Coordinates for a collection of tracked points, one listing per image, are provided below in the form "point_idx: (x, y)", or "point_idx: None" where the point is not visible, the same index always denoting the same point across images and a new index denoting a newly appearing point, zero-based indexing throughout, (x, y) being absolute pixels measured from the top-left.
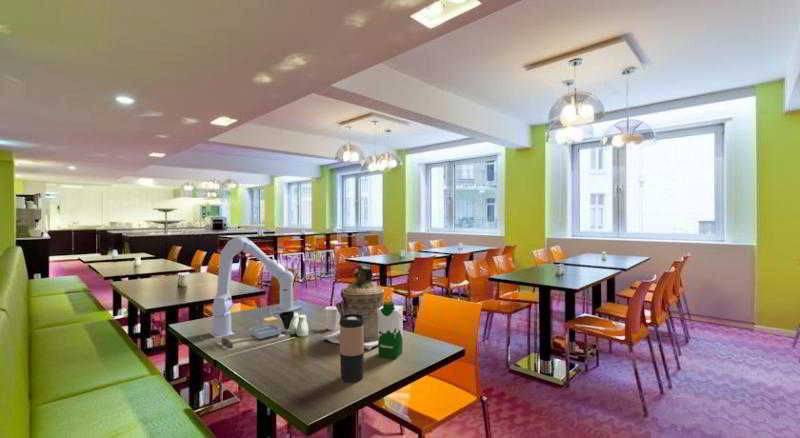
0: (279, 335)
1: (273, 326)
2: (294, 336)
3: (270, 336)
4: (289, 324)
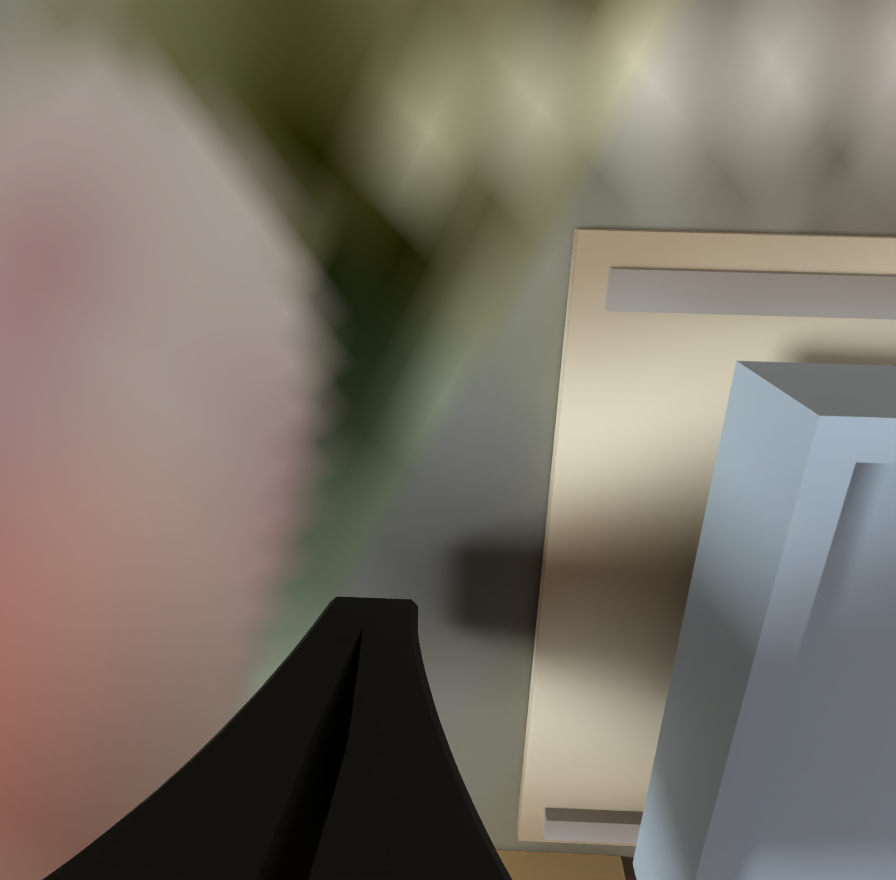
0: (663, 474)
1: (727, 833)
2: (377, 179)
3: None
4: (295, 670)
